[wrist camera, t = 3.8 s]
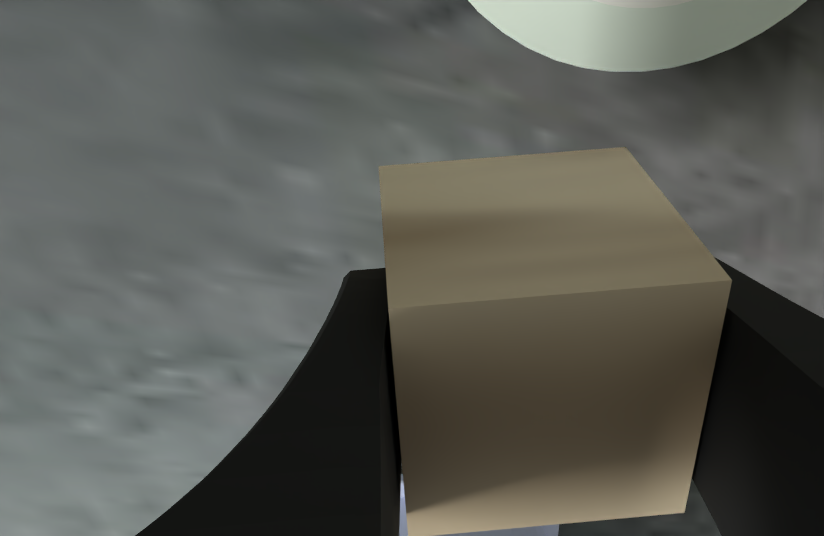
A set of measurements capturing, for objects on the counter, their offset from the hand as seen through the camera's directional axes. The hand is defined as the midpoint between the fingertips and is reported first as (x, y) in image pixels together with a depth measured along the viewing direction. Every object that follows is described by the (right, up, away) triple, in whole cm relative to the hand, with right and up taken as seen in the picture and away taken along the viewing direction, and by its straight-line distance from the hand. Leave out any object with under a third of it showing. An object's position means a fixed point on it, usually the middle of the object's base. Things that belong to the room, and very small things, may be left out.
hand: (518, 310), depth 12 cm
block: (0, +1, +1) cm, 2 cm away
